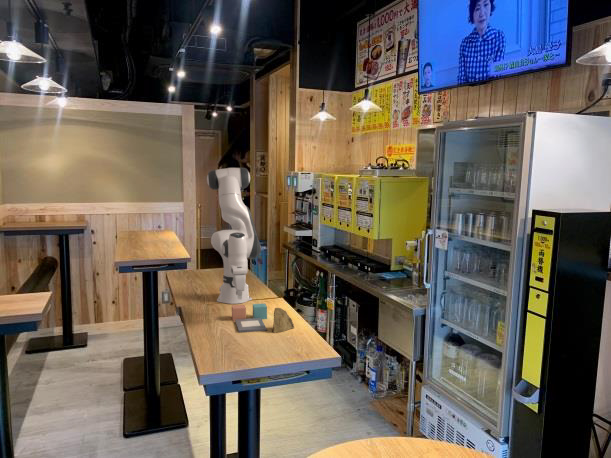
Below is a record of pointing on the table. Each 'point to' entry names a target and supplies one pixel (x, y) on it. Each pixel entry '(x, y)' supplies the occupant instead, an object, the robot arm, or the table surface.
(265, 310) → the teal block
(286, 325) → the rock
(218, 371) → the table surface
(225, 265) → the robot arm
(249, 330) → the grey flat plate
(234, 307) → the terracotta block
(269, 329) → the table surface
